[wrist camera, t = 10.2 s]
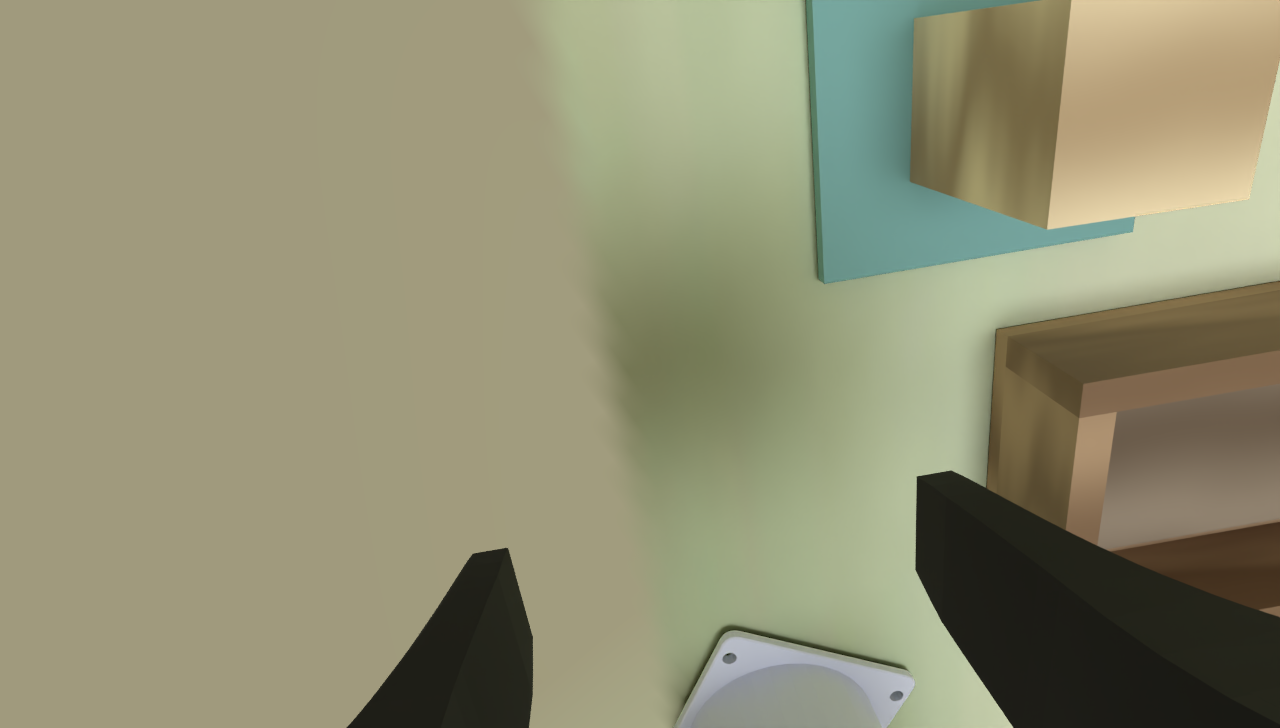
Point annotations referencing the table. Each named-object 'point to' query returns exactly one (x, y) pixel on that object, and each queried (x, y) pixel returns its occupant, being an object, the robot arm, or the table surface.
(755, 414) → the table surface
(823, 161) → the teal mat
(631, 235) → the table surface
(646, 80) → the table surface
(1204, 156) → the maple block
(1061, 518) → the walnut crate
